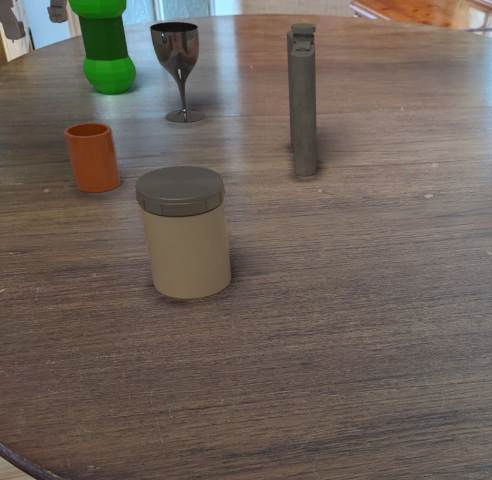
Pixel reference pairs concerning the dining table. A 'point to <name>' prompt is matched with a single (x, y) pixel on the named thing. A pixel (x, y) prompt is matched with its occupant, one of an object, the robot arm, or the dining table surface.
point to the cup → (92, 157)
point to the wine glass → (178, 60)
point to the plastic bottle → (105, 44)
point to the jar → (188, 253)
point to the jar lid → (180, 190)
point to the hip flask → (302, 97)
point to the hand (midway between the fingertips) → (39, 29)
